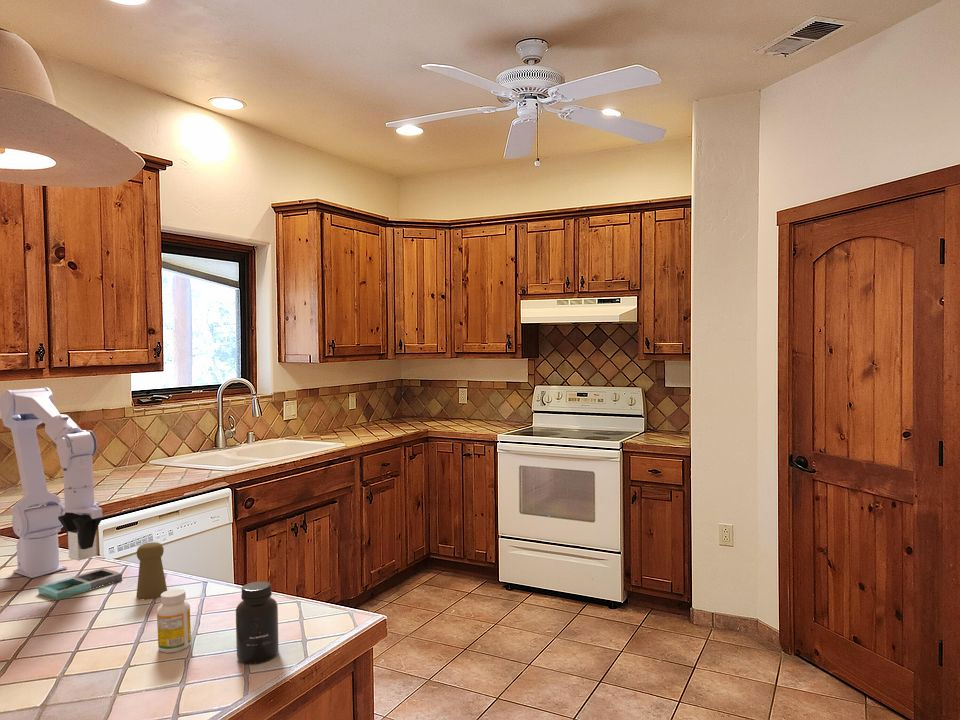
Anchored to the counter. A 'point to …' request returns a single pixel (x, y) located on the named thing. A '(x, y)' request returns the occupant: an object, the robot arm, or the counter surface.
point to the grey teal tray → (79, 583)
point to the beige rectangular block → (79, 547)
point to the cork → (150, 571)
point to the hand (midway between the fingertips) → (81, 546)
